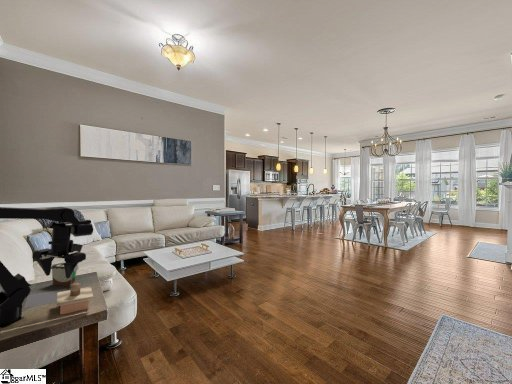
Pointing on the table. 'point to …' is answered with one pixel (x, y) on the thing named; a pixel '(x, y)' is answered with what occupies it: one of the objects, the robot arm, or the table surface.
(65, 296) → the lid
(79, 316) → the table surface
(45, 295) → the mat
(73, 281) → the food container
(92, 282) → the table surface
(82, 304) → the open box
